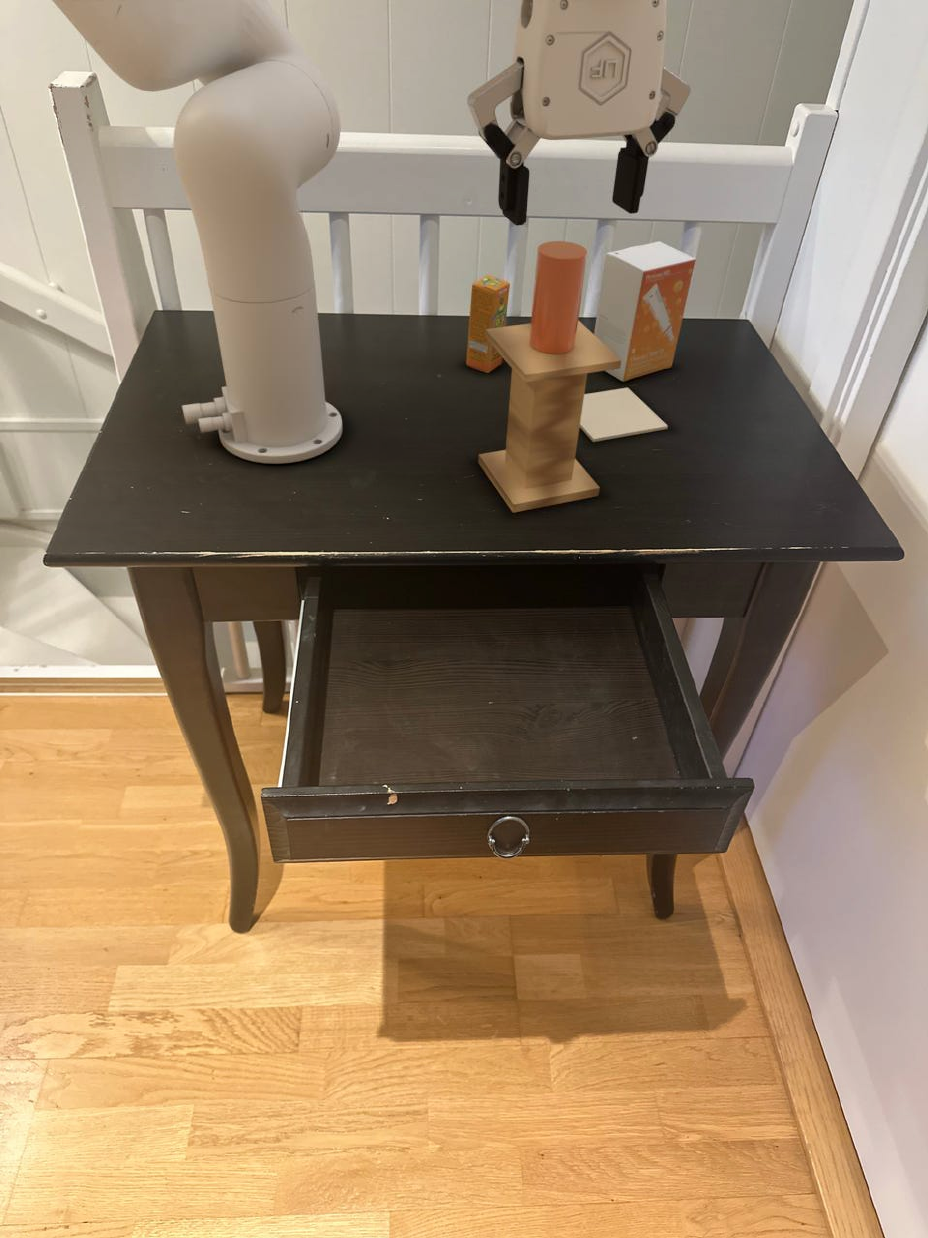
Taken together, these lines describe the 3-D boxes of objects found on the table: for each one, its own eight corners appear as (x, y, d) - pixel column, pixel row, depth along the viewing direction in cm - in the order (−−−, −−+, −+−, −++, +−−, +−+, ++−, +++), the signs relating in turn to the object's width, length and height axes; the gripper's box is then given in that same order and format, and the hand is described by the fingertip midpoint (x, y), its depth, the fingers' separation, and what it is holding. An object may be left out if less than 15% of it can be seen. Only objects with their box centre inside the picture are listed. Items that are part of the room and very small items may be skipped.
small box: (623, 383, 98) (643, 270, 89) (588, 361, 102) (604, 251, 93) (673, 367, 101) (698, 257, 92) (638, 347, 105) (658, 239, 96)
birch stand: (512, 513, 78) (525, 374, 69) (478, 462, 84) (485, 328, 75) (598, 496, 81) (622, 359, 71) (558, 448, 87) (575, 316, 77)
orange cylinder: (540, 356, 71) (550, 260, 66) (521, 337, 74) (529, 243, 68) (582, 350, 72) (595, 255, 67) (562, 331, 75) (573, 238, 70)
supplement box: (489, 374, 98) (494, 289, 91) (465, 366, 100) (468, 281, 93) (504, 364, 100) (510, 280, 94) (480, 356, 102) (485, 272, 95)
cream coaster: (593, 442, 88) (593, 438, 88) (556, 401, 94) (557, 398, 94) (667, 429, 91) (668, 425, 90) (627, 390, 97) (627, 387, 96)
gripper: (497, -62, 49) (485, 241, 61) (746, -63, 54) (690, 218, 66) (453, -73, 54) (450, 209, 66) (684, -73, 59) (643, 190, 71)
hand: (570, 213), depth 66 cm, fingers open, 9 cm apart
